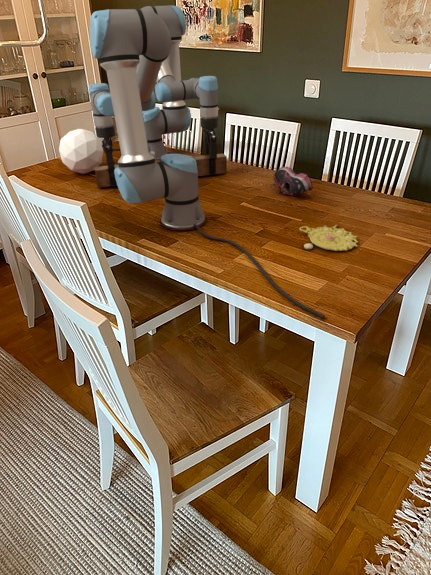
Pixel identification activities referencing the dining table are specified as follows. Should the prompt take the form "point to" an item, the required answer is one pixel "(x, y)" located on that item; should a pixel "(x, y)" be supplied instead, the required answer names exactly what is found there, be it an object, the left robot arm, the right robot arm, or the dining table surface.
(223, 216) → the dining table surface
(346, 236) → the decorative object
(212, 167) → the left robot arm
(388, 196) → the dining table surface
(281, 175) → the athletic shoe
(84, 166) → the sphere
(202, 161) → the bar
